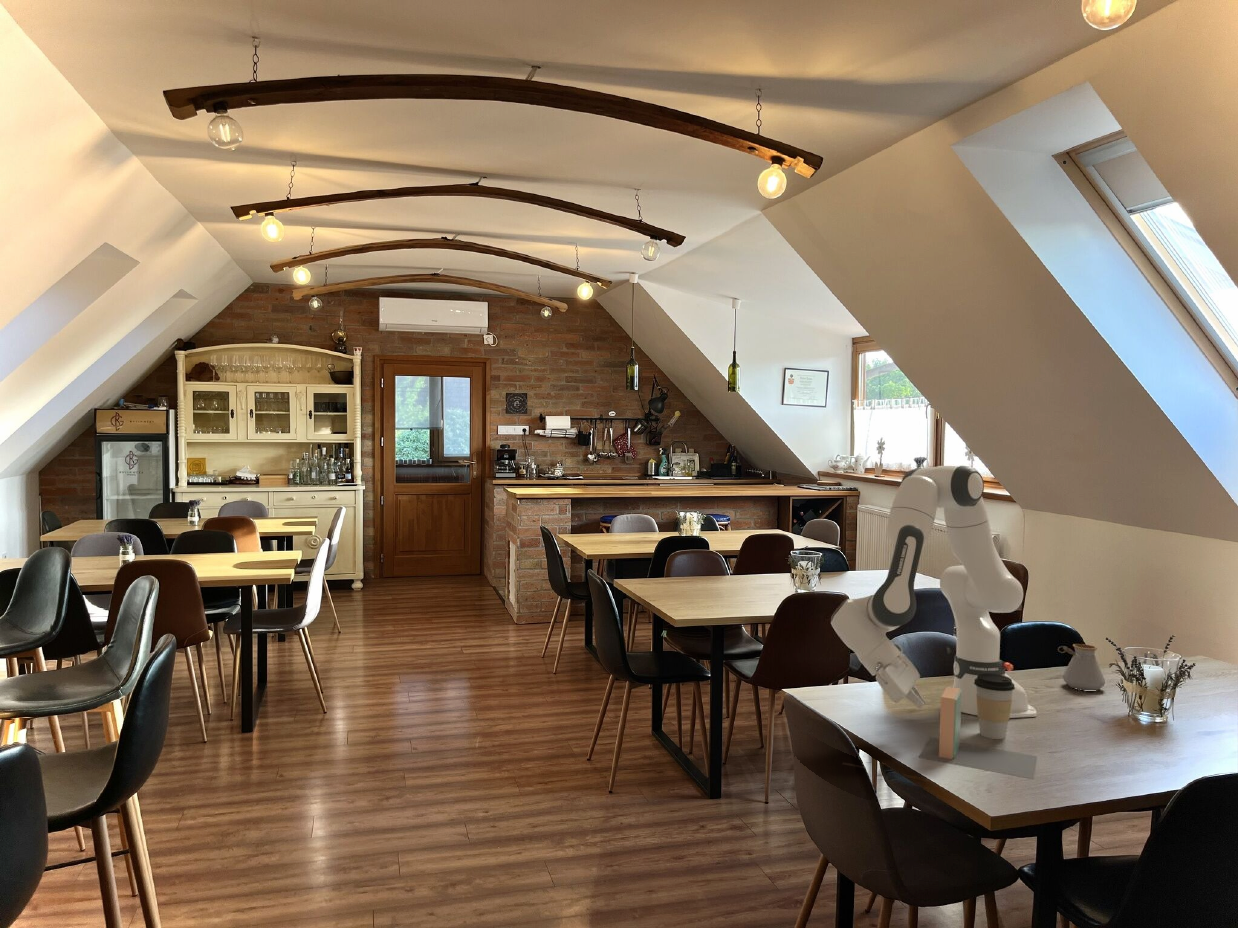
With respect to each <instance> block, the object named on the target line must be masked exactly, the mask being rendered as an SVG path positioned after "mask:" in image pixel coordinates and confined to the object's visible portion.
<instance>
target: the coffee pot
mask: <svg viewBox="0 0 1238 928" xmlns="http://www.w3.org/2000/svg"><path fill="white" fill-rule="evenodd" d="M1072 647H1073V648H1074V651H1073V650H1072V649H1071V648H1068V646H1065V645H1061V646H1059V647H1058V648H1057V651H1058V652H1060V653H1061V654H1062V653H1063V654H1064V653H1066V652H1067V653H1068V654H1070V655H1072V657H1071V660H1070V661H1069V663H1068V665H1067V667H1066V669H1065V670H1064V672H1063V674H1062V679H1063V681H1064V682H1065V683H1066V685H1068V687H1069V686H1070V687H1073V688H1077V689H1081V690H1100V689H1102V688H1103V687H1104V686H1105V684H1106V679H1105V677H1104V674H1103V672H1102V670H1101V667H1100V665H1099V662H1098V661H1097V658H1096V655H1095V653H1096V650H1097V649H1098V648H1097V646H1095V645H1092V644H1091V645H1090V644H1086V643H1085V644H1083V643H1072ZM1060 648H1062V649H1063V651H1060V650H1059V649H1060ZM1070 687H1069V688H1070Z"/></svg>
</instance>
